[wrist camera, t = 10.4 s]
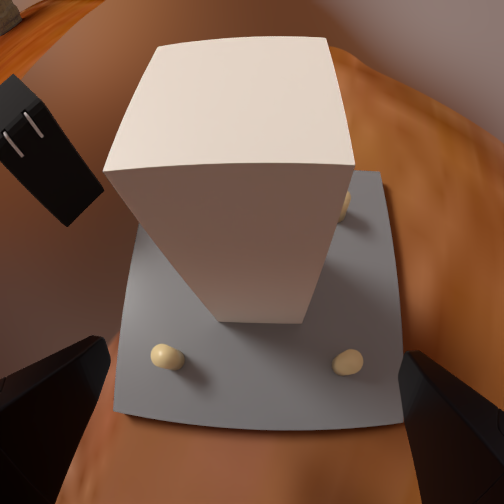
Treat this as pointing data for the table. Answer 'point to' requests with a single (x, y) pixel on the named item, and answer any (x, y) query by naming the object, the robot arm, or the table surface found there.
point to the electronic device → (43, 154)
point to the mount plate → (271, 340)
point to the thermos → (8, 16)
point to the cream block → (238, 169)
